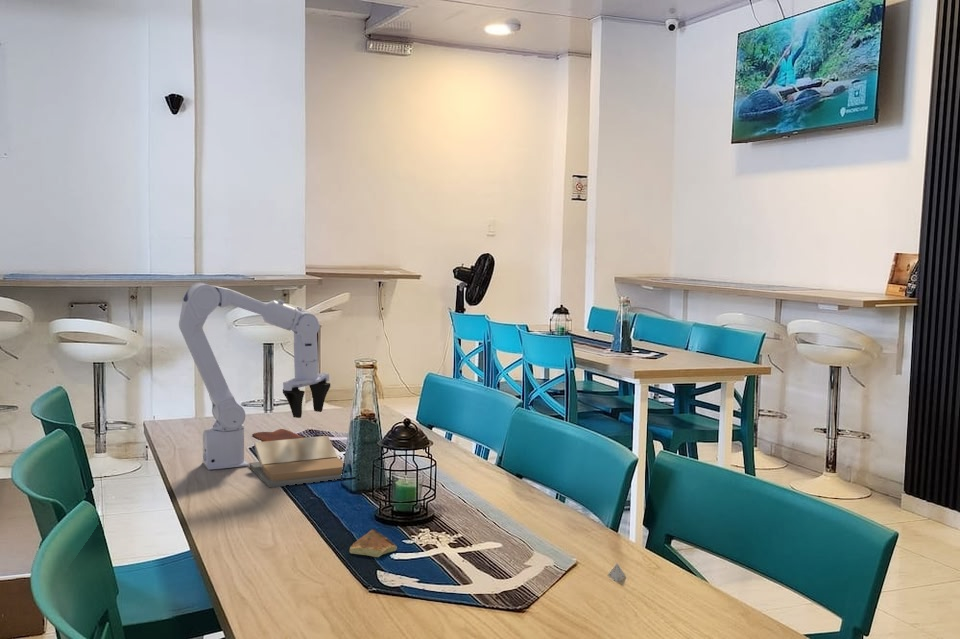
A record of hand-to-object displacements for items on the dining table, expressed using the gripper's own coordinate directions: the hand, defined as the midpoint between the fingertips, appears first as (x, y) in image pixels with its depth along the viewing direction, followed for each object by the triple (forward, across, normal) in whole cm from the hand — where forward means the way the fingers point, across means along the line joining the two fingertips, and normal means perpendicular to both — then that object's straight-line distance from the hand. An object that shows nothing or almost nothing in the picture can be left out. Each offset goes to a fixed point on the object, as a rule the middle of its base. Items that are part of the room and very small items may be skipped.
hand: (307, 414), depth 220 cm
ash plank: (+8, -9, -4) cm, 12 cm away
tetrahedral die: (+12, -29, -94) cm, 99 cm away
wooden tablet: (+12, +8, +14) cm, 20 cm away
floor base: (+11, -11, -8) cm, 17 cm away
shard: (+11, -41, -52) cm, 67 cm away
